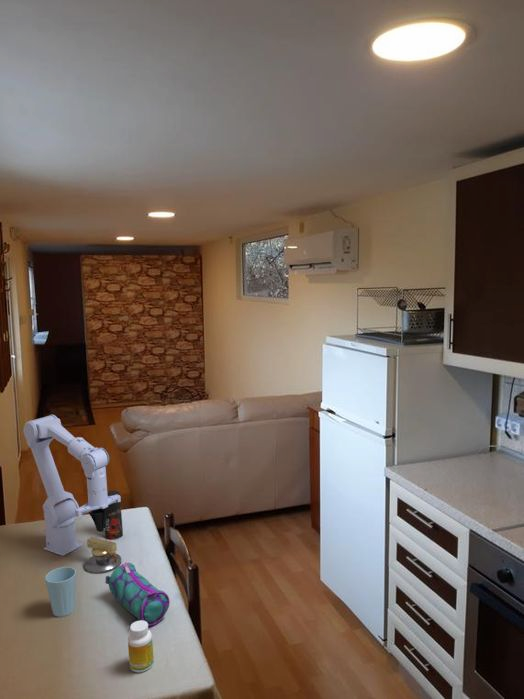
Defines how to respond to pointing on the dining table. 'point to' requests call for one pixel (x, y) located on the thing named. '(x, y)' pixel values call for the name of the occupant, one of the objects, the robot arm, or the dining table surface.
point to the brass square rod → (101, 547)
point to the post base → (102, 563)
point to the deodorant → (114, 519)
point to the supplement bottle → (140, 647)
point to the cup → (61, 590)
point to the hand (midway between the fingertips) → (100, 530)
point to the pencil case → (138, 594)
